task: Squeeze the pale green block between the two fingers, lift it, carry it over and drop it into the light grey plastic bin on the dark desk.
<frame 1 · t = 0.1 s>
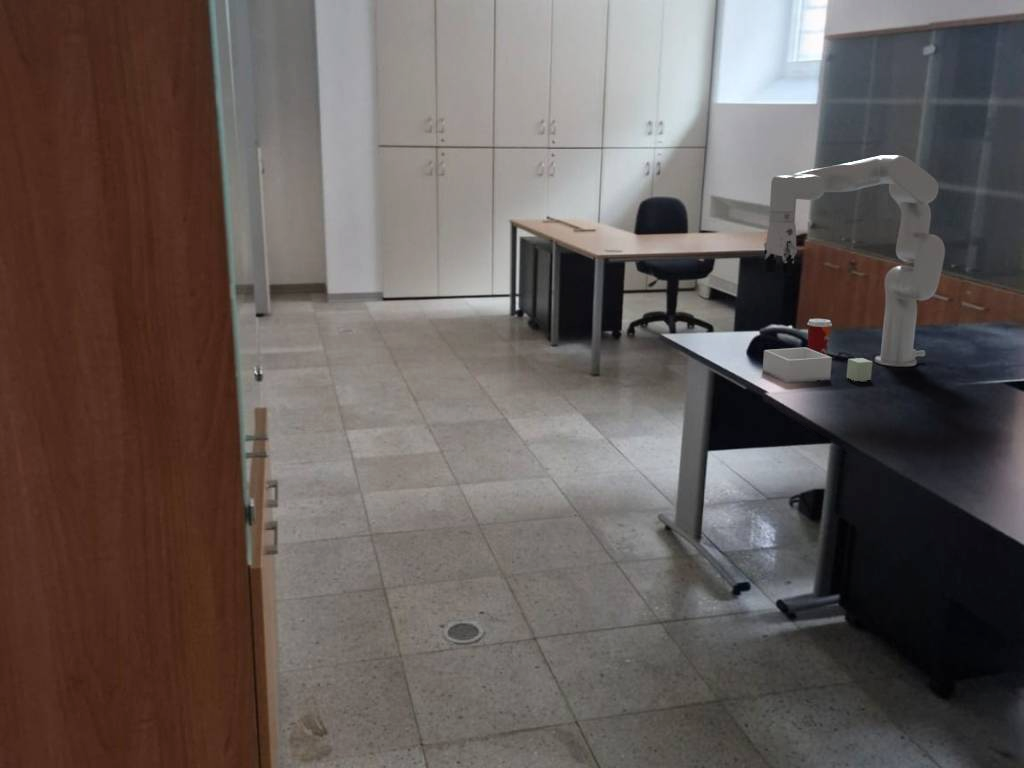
hand: (778, 273, 276), 31 cm above the table, tool pointing down, fingers open, 9 cm apart
paper cup: (816, 362, 296), on the table
bin: (795, 375, 279), on the table
green block: (858, 379, 275), on the table
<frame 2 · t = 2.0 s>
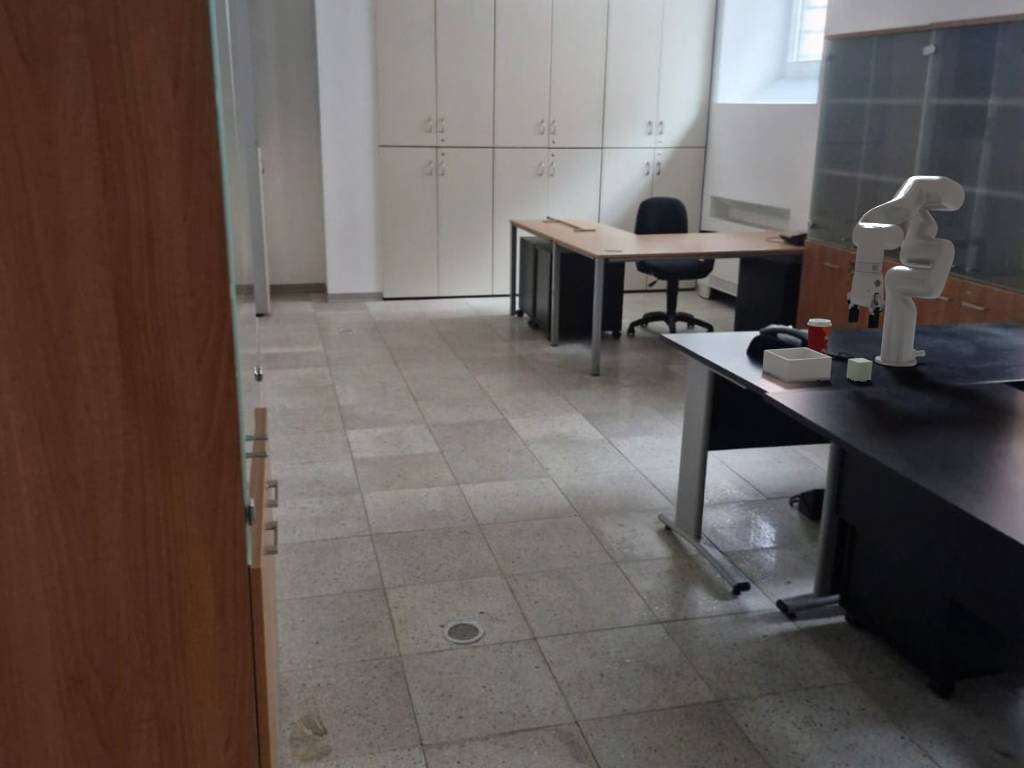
hand: (862, 325, 270), 17 cm above the table, tool pointing down, fingers open, 9 cm apart
nothing on the table moved.
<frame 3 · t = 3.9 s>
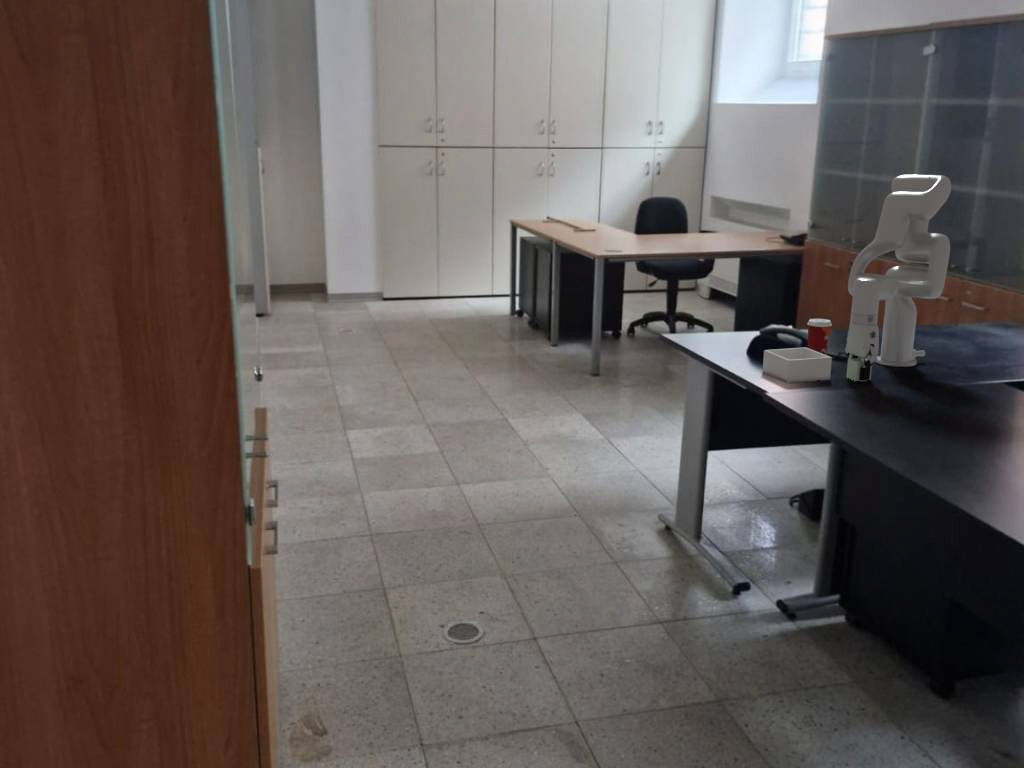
hand: (858, 377, 274), 1 cm above the table, tool pointing down, fingers closed on green block, 5 cm apart
green block: (858, 379, 275), on the table, touching gripper
everything else where it was.
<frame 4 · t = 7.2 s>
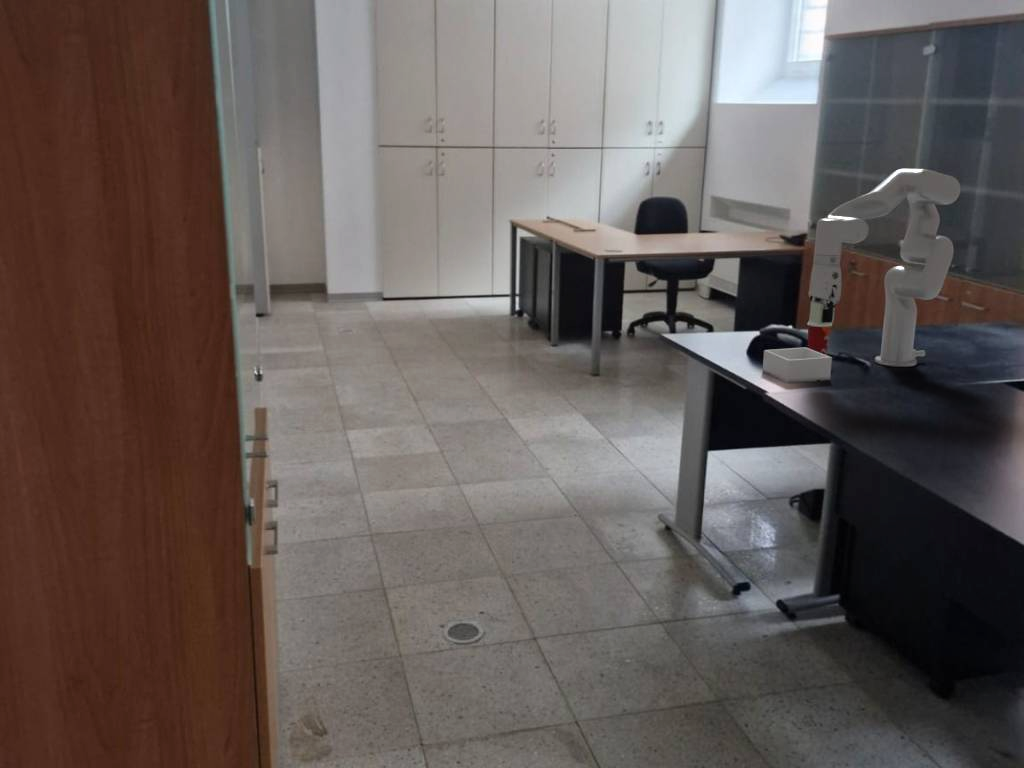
hand: (821, 319, 273), 18 cm above the table, tool pointing down, fingers closed on green block, 5 cm apart
green block: (821, 322, 273), point 17 cm above the table, touching gripper
everything else where it was.
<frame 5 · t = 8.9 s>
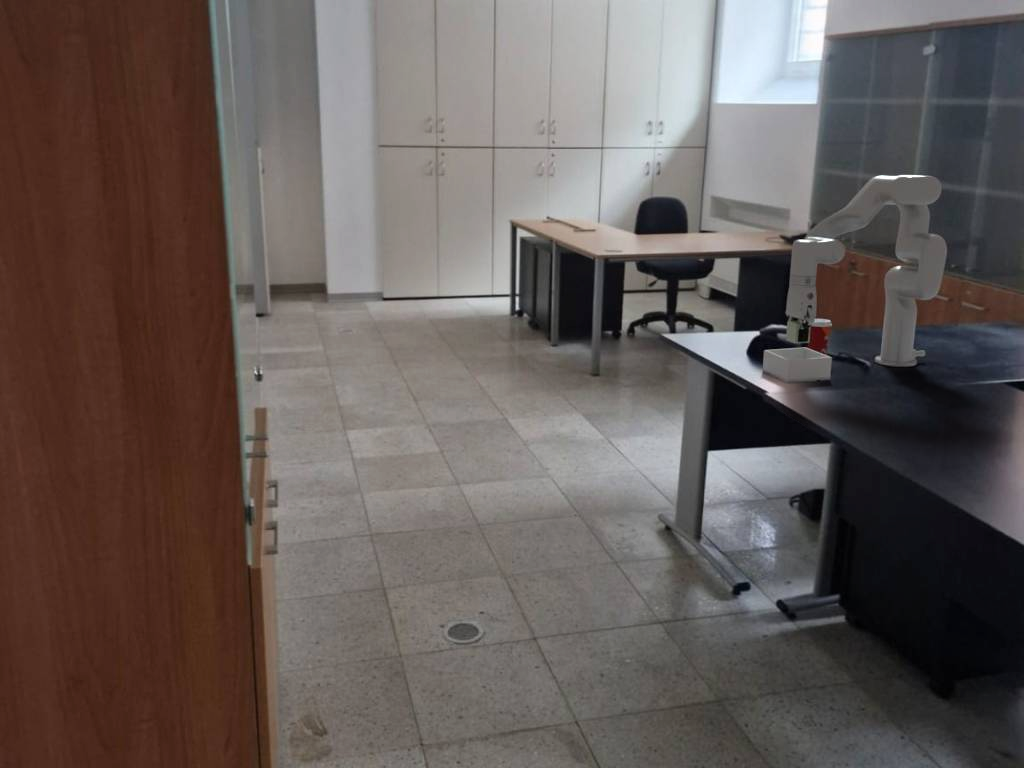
hand: (797, 339, 276), 12 cm above the table, tool pointing down, fingers closed on green block, 5 cm apart
green block: (797, 341, 276), point 11 cm above the table, touching gripper
everything else where it was.
when the fingers open (4 cm above the table, at t = 10.5 s): green block drops 3 cm, resting on bin.
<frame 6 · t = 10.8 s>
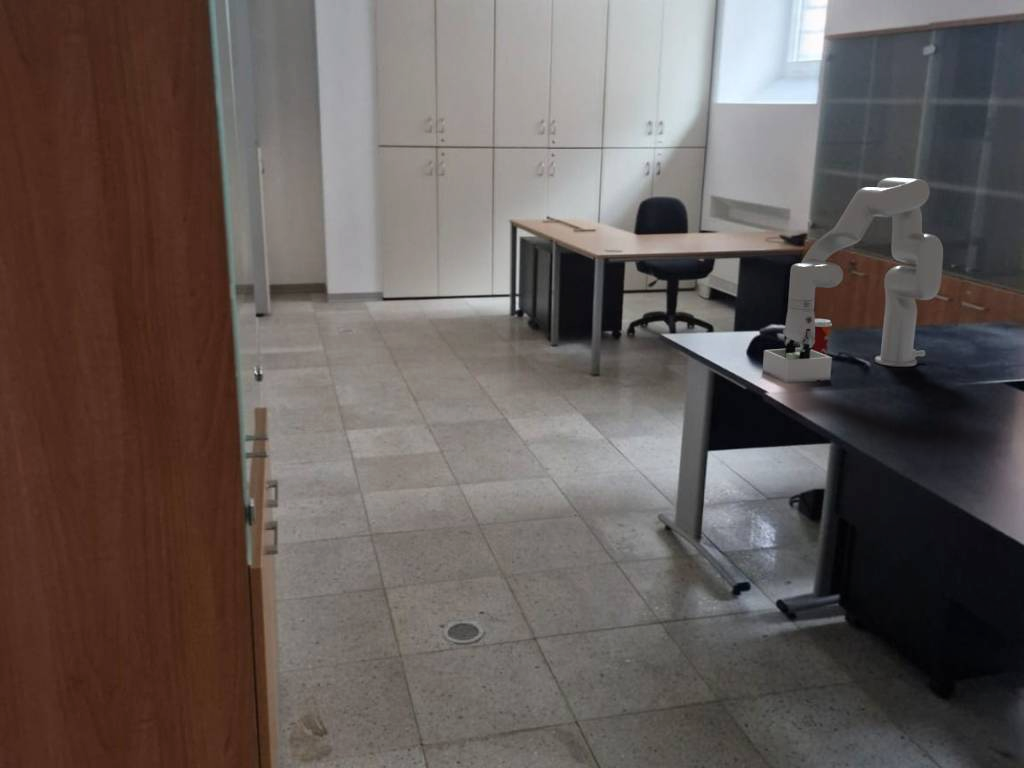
hand: (796, 360, 278), 5 cm above the table, tool pointing down, fingers open, 7 cm apart
green block: (796, 373, 279), point 1 cm above the table, touching bin
everything else where it was.
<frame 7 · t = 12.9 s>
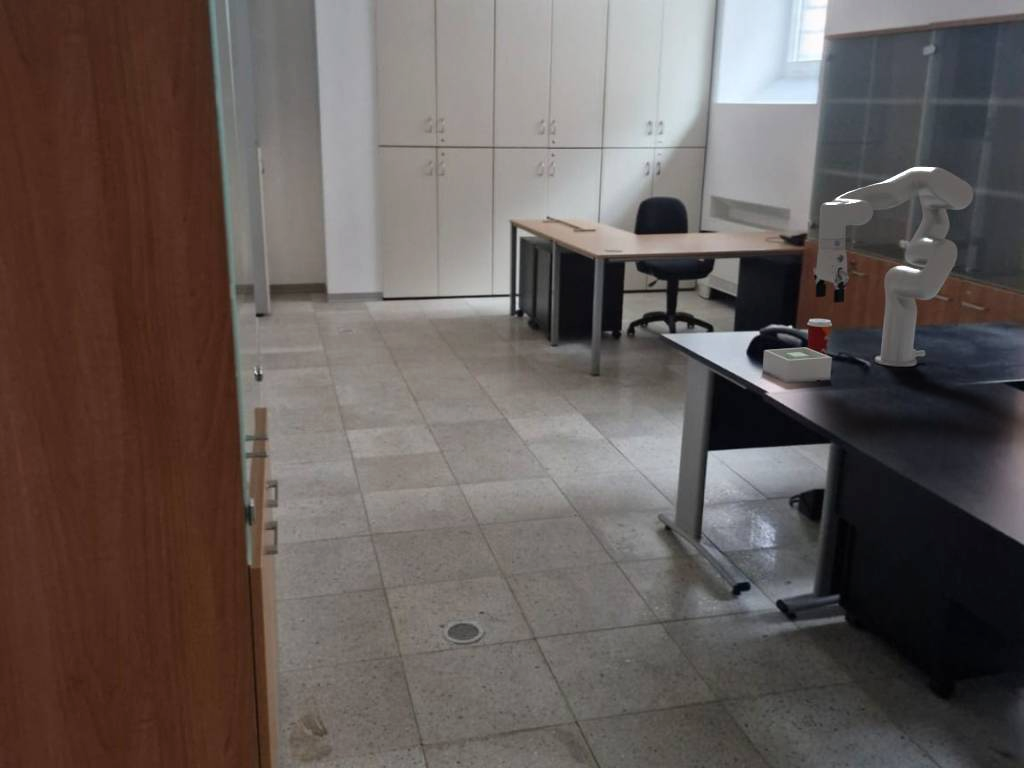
hand: (829, 299, 277), 23 cm above the table, tool pointing down, fingers open, 9 cm apart
nothing on the table moved.
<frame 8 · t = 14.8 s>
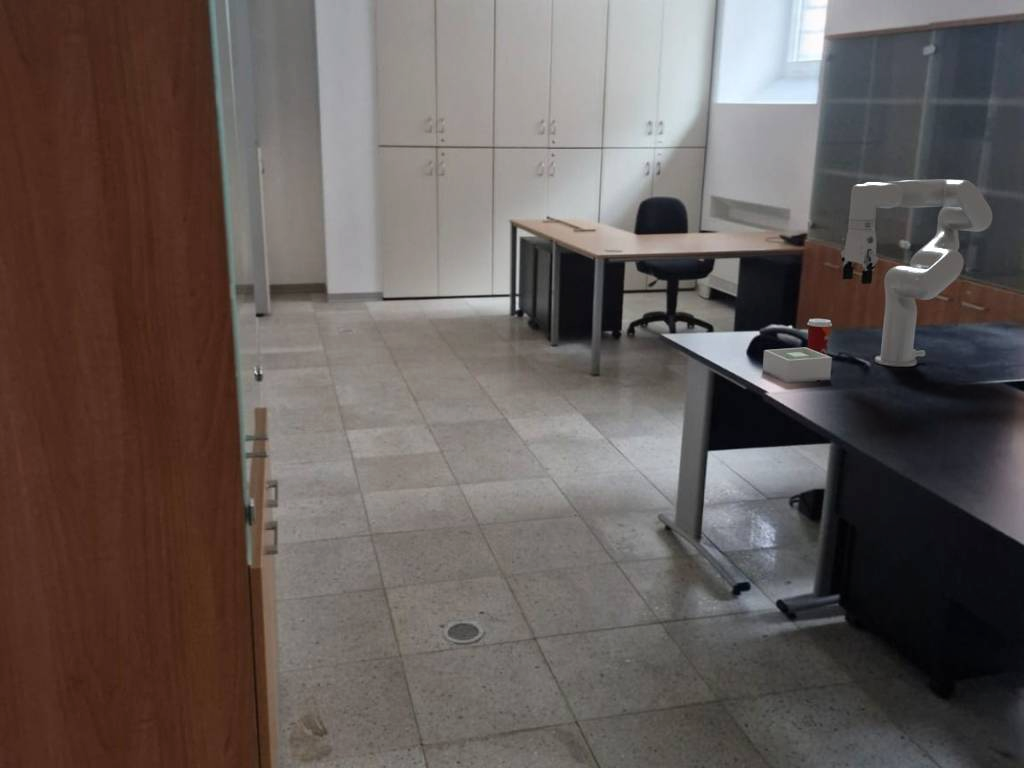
hand: (856, 281, 278), 28 cm above the table, tool pointing down, fingers open, 9 cm apart
nothing on the table moved.
at the end: green block inside the target area on the bin (0.0 cm from its centre), point 0.8 cm above the bin's base; the gripper is holding nothing; paper cup moved 0.2 cm from its start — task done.
